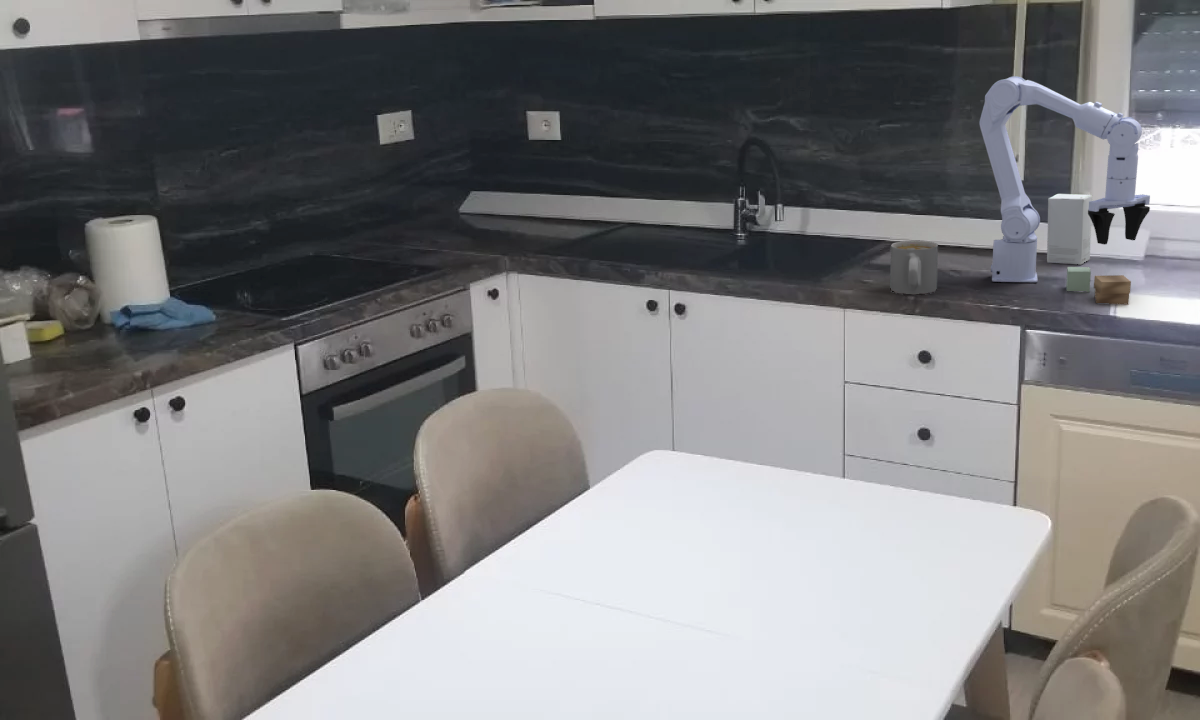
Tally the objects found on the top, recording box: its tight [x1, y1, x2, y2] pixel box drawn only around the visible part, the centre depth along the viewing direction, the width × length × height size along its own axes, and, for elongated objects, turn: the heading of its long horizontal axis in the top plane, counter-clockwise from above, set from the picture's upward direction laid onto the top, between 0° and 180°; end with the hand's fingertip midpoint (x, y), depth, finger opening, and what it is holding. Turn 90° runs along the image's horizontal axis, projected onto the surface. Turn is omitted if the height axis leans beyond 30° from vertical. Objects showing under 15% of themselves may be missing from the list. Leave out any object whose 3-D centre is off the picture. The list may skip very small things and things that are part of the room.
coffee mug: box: [889, 240, 939, 294], centre depth 256 cm, size 13×10×10 cm
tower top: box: [1093, 274, 1132, 295], centre depth 240 cm, size 6×6×2 cm
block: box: [1065, 266, 1092, 293], centre depth 250 cm, size 4×4×4 cm
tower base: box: [1094, 288, 1130, 305], centre depth 241 cm, size 6×6×2 cm
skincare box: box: [1046, 193, 1093, 266], centre depth 274 cm, size 8×7×16 cm
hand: (1116, 241), depth 250 cm, fingers open, 7 cm apart
